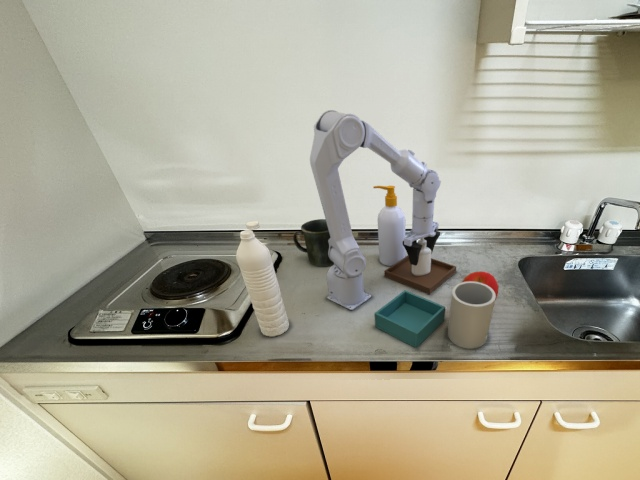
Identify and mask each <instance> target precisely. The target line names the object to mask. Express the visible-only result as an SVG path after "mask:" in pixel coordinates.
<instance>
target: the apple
mask: <svg viewBox="0 0 640 480" xmlns="http://www.w3.org/2000/svg"><path fill="white" fill-rule="evenodd" d="M467 281H474V282H480V283H483V284H486V285H487V286H489V287H491V288H492V289H493V290H494V292H495V294H496V298H495V301H497V297H498V294H499V284H498V281H497V280H496V278H495V276H494V275H492V274H491V273H489V272H486V271H481V270H480V271H474V272H471V273H469V274H467V275H465V277H464V278H463V279H462V281H461V283H462V282H467Z"/></svg>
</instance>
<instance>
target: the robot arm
mask: <svg viewBox="0 0 640 480" xmlns="http://www.w3.org/2000/svg"><path fill="white" fill-rule="evenodd" d="M313 133H314V135H313V141H312V146H311V150H310V155H309V164H310V168H311V171H312V175H313V179H314V182H315V187H316V189H317V190H316V191H317V192H318V197H319V200H320V204H321V207H322V208H321V209H322V210H323V215H324V219H326V222H327V226H328V230H329V233H330V237H331V238H330V239H329V240H328V242H329V251H328V256H329V258H330V260H331V261H332V262H334V264H333V265H331V266H330V268H329V269H328V271H327V273H326V284H327V288H328V295H327V300H329V301H331V302H334V303H335V304H337V305H339V306H341V307H343V308H345V309H347V310H350V311H353V310H356V309H357V308H358V307H359V306H361V305H363V304H364V303H365V302H366V301H368V300H370V298H372V295H371V294H369V293H367V292H365V287H364V275H363V272H364V271H365V269H366V266H367V260H366V257H365V256H364V255H363V254H362V253H361V250H360V249H361V248H360V246H359V244H358V243H357V241H356V239H355V237H354V235H353V231H352V225H351V221H350V217H349V213H348V208H347V204H346V198H345V195H344V189H343V185H342V181H341V177H340V172H339V167H340V166H341V165H342V163H343V161H344V160H346V159H347V158H348V157H349V156H351V154H353V153H354V152H355V151H356V150H358V149H359V148H363V149H366V148H367V149H369V150H370V151H372V152H373V153H374V154H376V155H378V156H379V157H381V158H382V159H384V161H387V162H388V163H389V164H390V170H391V172H392V173H393V174H395V175H396V176H398V177H399V178H400V179H402V180H403V181H405V182H406V183H407V184H408V186H409V187H410V188H412V214H411V215H412V216H411V217H412V218H411V219H412V220H411V226H412V227H411V229H410V231H409V232H408V233H407V235H405V238H404V241H403V246H404V248H405V252H406V253H407V256H408V257H409V260H410V264H412V265H415V266H416V265H417V264H418V259H419V253H420V250H421V248H422V246H423V245H420V244H418V240H420V239H421V238H424V239H425V240H426V241H427V242H426V247H428V248H430V249H431V255H433V252H434V248H435V245H436V243H437V241H438V239H439V237H440V236H441V232H440V231H438V230H439V224H440V223H439V222H436V221H434V213H435V200H436V198H437V192H438V190H439V189H440V187H441V183H442V180H440V177H439V174H438V172H437V171H435V170H433V169H430V168H428V165H427V163H426V162H425V161H421V160H419V158H417V157H416V156H415V154H416V153H415V151H413V150H411V149H400V150H398V149H397V148H396V147H395V146H394V144H392V143H390V141H388V140H387V139H386V138H385V137H384V136H383V135H382V134H380V132H378V131H377V130H376V129H374V127H372V125H370V123H368V122H367V121H364V120H363V119H360V118H359V116H357V115H356V114H354V113H344V112H339V111H337V110H333V109H330V110H326V111H324V112H323V113H321V115H320V116H319V118H318V119H317V121H316V122H315V124H314V125H313Z"/></svg>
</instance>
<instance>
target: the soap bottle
mask: <svg viewBox="0 0 640 480" xmlns="http://www.w3.org/2000/svg"><path fill="white" fill-rule="evenodd" d="M372 188H373V189H381V190H385V191H386V192H387V193H386V194H385V196H384V202H385V203H384V204H385V205H384V207H382V208H381V209H380V211H379V213H378V214H377V237H378V239H377V240H378V257H379V259H378V260H379V262H380V263H381V264H382V265H384V266H389V267H391V266H393V265H394V264H396V263H397V262H399V261H400V260H402V259H403V258H405V257H406V249H405V248H404V246H403V241H404V238H405V237H406V216H405V215H406V214H405V212H404V211H403V210H402V208H401V207H399V206H398V195H396V193H395V189H396V186H395V185H374V186H373V187H372Z"/></svg>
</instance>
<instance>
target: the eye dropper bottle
mask: <svg viewBox="0 0 640 480" xmlns="http://www.w3.org/2000/svg"><path fill="white" fill-rule="evenodd" d="M417 242H418V244H420V245H423V246H422V248H421V250H420V253H419V259H418V264H417V265H416V266H415V265H412V273H413V275H415V276H422V275H426V274H428V273H430V269H431V258H432V254H431V249H430V248H428V247H426V242H427V241H426V240H425V239H424V238H421V239H418V240H417Z"/></svg>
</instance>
